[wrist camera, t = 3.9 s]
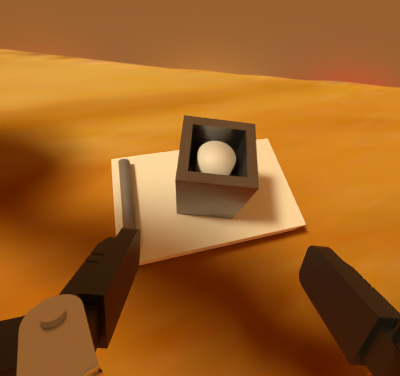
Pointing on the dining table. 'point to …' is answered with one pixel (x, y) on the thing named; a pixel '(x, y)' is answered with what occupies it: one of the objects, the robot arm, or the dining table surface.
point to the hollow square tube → (215, 183)
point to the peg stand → (190, 224)
